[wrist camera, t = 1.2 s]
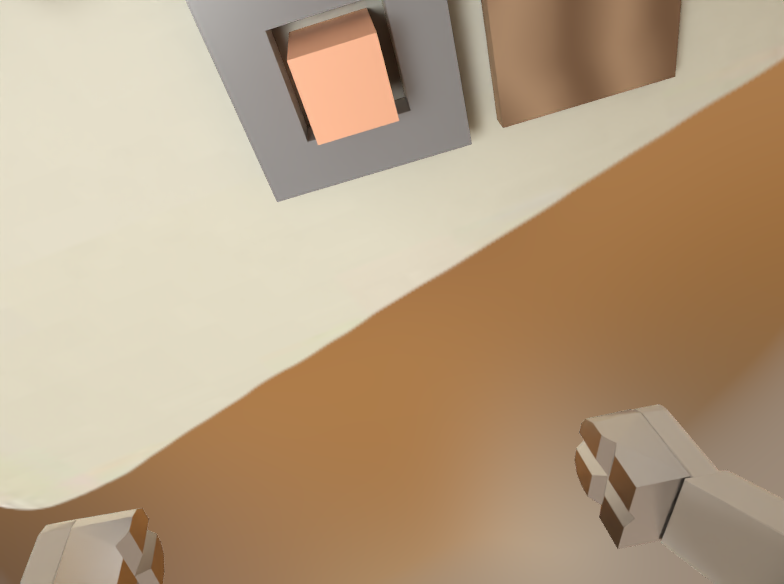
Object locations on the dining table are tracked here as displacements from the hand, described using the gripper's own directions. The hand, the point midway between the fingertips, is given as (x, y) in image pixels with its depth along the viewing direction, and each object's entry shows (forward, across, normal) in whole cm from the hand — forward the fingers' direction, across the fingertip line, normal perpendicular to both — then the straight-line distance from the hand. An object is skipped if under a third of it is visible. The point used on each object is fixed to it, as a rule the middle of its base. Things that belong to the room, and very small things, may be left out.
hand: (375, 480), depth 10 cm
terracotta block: (+31, -3, -1) cm, 31 cm away
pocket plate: (+31, -3, -1) cm, 31 cm away
